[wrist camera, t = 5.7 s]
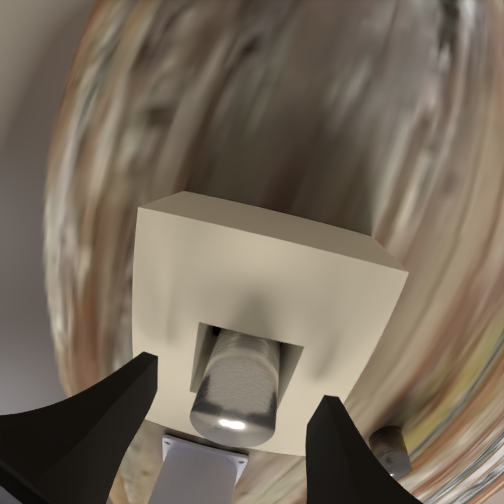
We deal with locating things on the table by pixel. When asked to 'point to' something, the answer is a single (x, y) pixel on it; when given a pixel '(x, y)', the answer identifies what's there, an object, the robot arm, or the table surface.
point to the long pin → (238, 391)
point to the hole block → (256, 302)
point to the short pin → (391, 451)
